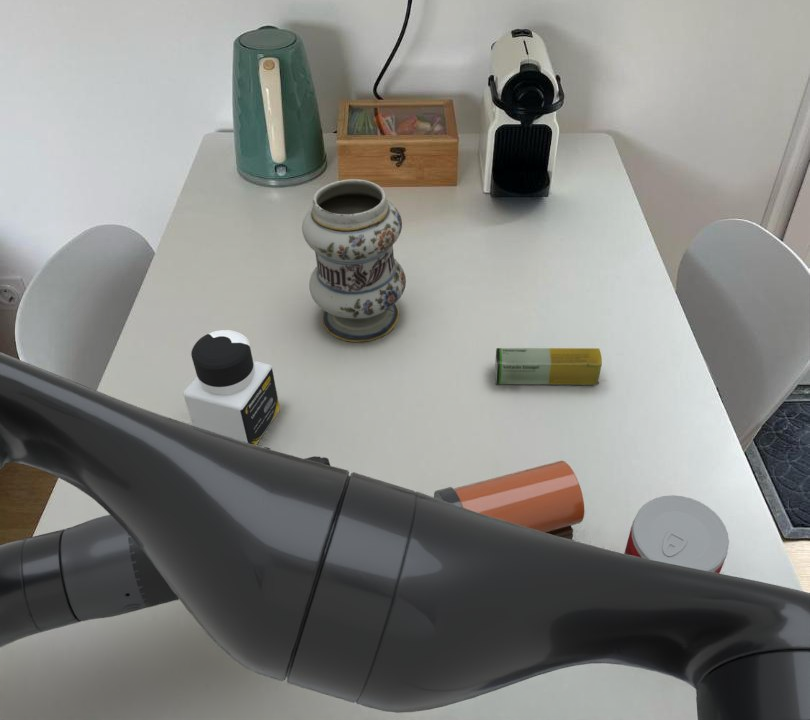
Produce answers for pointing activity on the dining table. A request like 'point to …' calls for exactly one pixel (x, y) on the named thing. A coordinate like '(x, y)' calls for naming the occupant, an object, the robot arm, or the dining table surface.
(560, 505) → the jar
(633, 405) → the dining table surface
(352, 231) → the apothecary jar
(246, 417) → the medicine bottle
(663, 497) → the canned food
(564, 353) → the medication box
